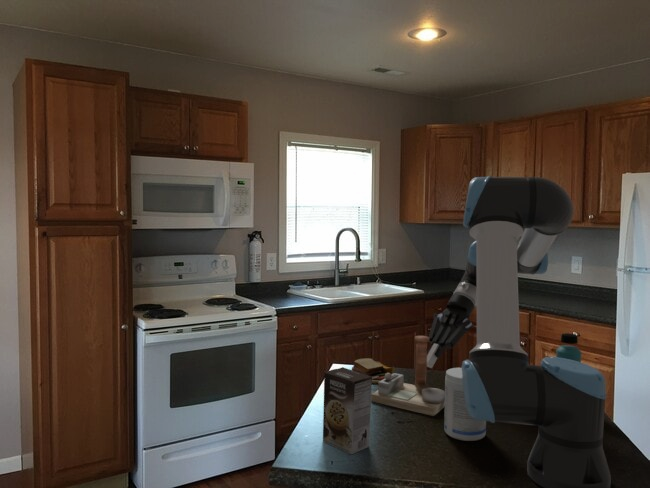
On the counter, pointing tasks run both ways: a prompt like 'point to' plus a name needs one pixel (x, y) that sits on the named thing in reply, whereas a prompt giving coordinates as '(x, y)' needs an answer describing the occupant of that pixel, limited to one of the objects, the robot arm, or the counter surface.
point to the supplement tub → (459, 410)
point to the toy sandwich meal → (372, 369)
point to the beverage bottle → (569, 348)
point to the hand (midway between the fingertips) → (427, 364)
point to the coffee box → (347, 409)
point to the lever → (420, 374)
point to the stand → (403, 395)
